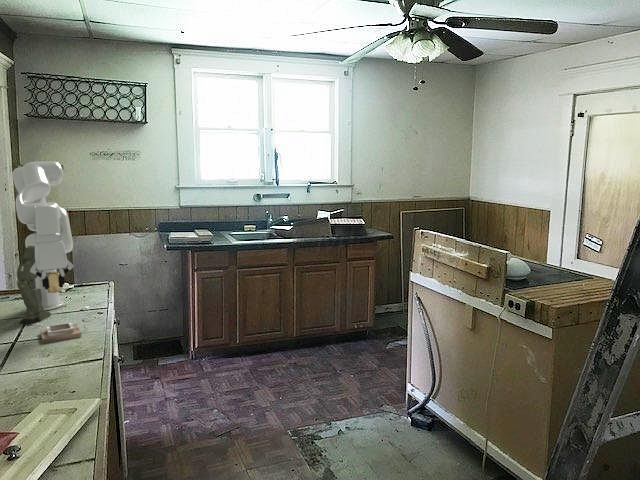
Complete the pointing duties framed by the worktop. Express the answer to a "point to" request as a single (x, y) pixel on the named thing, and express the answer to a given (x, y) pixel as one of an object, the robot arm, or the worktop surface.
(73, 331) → the fitting board
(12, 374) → the worktop surface
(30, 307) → the mechanical leg
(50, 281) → the cylinder
